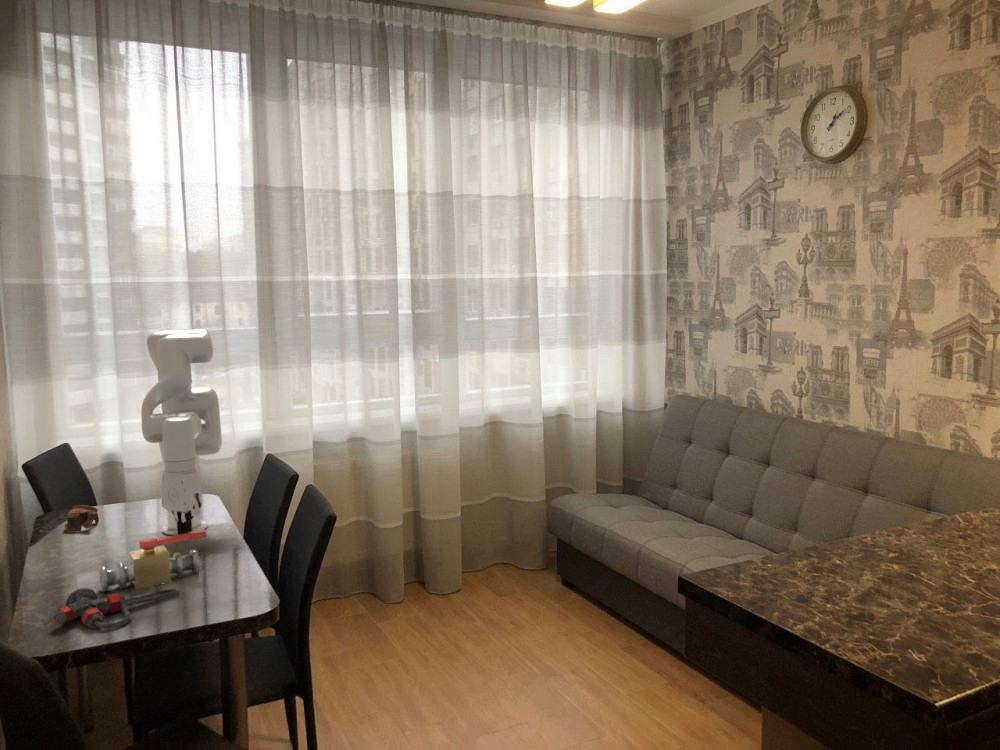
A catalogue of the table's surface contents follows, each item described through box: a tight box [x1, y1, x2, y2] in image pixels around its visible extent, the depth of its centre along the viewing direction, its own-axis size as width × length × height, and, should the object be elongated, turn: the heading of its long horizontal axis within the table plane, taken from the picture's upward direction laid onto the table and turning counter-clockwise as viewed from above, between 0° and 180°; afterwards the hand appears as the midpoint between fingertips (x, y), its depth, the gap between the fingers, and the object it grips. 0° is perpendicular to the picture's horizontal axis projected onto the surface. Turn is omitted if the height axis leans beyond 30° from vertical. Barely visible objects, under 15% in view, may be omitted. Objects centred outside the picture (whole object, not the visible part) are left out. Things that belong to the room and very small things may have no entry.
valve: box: [53, 587, 180, 630], centre depth 177 cm, size 6×26×15 cm
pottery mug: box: [64, 504, 100, 532], centre depth 242 cm, size 12×10×8 cm
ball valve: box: [98, 545, 201, 593], centre depth 196 cm, size 7×22×9 cm, turn 123°
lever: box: [138, 529, 207, 550], centre depth 198 cm, size 16×4×2 cm, turn 124°
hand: (185, 535), depth 203 cm, fingers closed
